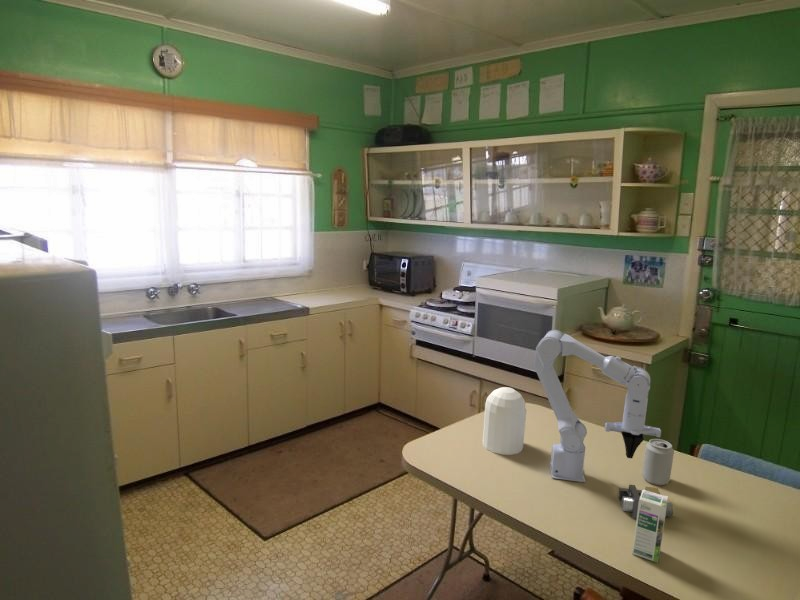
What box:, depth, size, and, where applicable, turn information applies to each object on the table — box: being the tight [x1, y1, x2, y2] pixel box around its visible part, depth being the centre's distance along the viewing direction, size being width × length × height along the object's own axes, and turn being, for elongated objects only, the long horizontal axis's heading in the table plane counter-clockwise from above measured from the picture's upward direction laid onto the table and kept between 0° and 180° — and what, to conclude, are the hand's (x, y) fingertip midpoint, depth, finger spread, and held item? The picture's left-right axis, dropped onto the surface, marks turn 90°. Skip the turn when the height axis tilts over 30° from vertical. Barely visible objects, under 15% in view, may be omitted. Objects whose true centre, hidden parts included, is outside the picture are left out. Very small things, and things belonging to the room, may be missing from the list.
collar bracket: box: [617, 484, 661, 520], centre depth 145 cm, size 10×10×6 cm
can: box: [641, 438, 675, 486], centre depth 160 cm, size 8×8×12 cm
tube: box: [621, 496, 674, 518], centre depth 144 cm, size 12×4×4 cm, turn 79°
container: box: [482, 386, 527, 456], centre depth 178 cm, size 14×13×20 cm
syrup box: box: [631, 489, 669, 563], centre depth 127 cm, size 6×6×14 cm
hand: (629, 456), depth 155 cm, fingers closed
